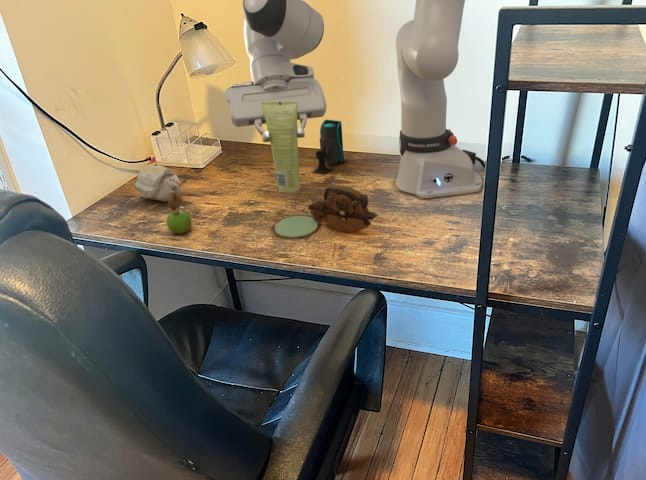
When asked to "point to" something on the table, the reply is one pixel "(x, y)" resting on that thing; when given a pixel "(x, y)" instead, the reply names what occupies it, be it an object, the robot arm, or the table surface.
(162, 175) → the fossil replica
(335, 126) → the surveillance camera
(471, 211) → the table surface
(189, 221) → the green bulbous piece
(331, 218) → the wooden carving
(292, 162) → the tube
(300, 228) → the coaster
